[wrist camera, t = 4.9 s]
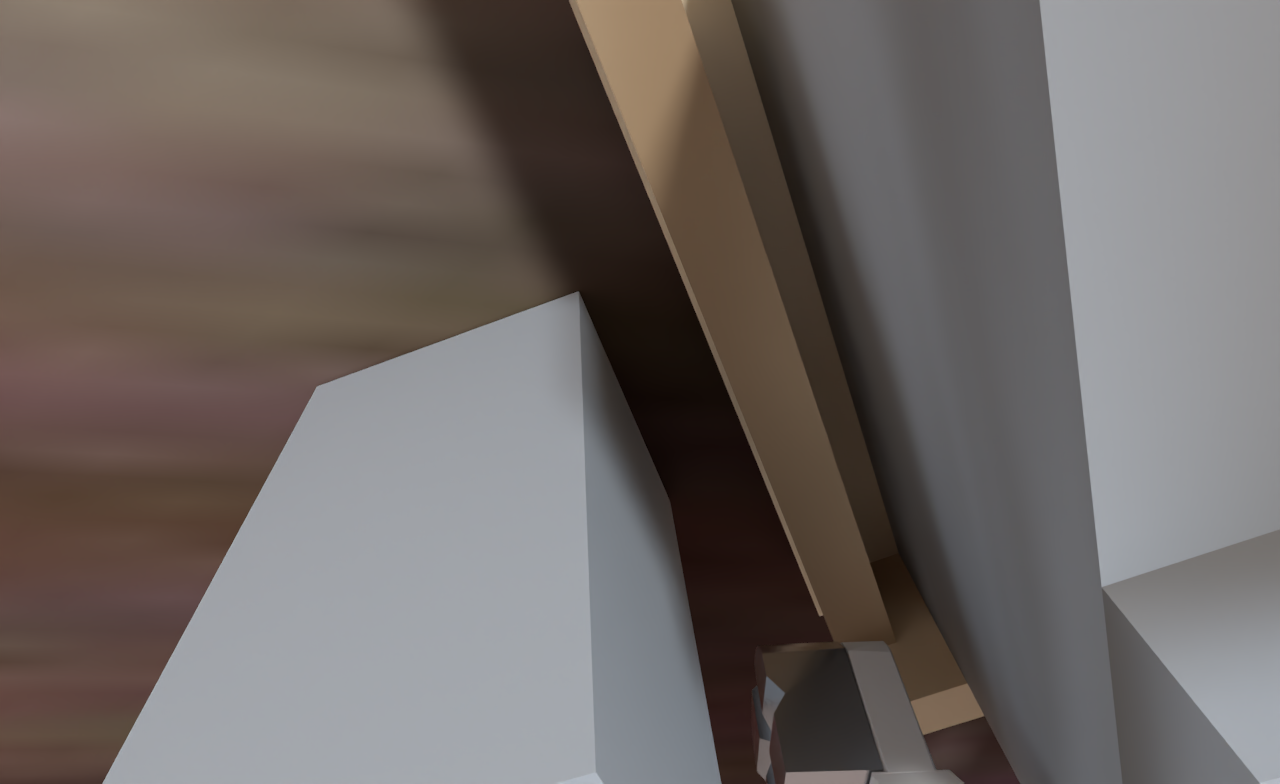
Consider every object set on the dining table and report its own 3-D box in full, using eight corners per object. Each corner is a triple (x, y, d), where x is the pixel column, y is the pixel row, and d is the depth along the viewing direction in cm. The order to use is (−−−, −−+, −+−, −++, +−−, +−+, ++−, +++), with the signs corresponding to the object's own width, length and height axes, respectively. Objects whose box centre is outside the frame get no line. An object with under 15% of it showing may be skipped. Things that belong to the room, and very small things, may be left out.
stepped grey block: (454, 586, 13) (334, 1299, 6) (317, 386, 11) (-95, 1151, 4) (676, 514, 13) (804, 1196, 6) (578, 291, 10) (602, 968, 4)
